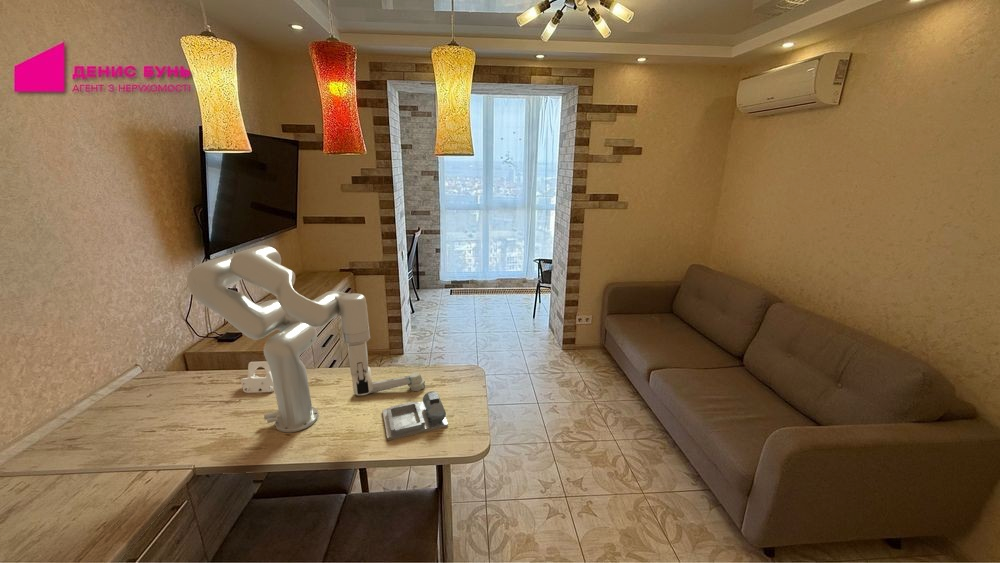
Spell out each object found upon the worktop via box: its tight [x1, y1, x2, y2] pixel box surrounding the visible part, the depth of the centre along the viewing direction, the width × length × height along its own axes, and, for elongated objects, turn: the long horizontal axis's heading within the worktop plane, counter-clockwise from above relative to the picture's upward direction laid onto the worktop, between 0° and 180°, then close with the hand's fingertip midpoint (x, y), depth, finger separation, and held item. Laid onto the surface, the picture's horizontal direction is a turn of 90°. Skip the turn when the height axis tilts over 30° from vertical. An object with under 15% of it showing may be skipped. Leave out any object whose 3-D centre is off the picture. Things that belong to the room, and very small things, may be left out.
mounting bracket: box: [240, 360, 275, 394], centre depth 146 cm, size 12×6×11 cm, turn 95°
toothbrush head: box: [354, 372, 426, 397], centre depth 145 cm, size 5×7×25 cm
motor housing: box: [382, 390, 449, 441], centre depth 128 cm, size 19×15×8 cm
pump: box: [351, 366, 373, 396], centre depth 121 cm, size 6×6×8 cm
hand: (362, 387), depth 121 cm, fingers closed on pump, 5 cm apart
